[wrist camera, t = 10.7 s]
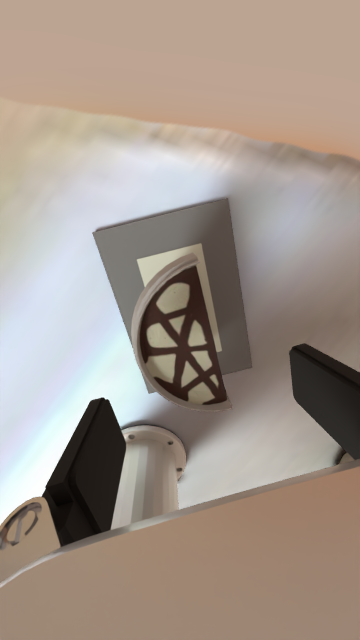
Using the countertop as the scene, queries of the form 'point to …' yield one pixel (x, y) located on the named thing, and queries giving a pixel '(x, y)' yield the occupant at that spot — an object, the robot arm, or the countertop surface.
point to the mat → (165, 247)
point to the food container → (178, 339)
